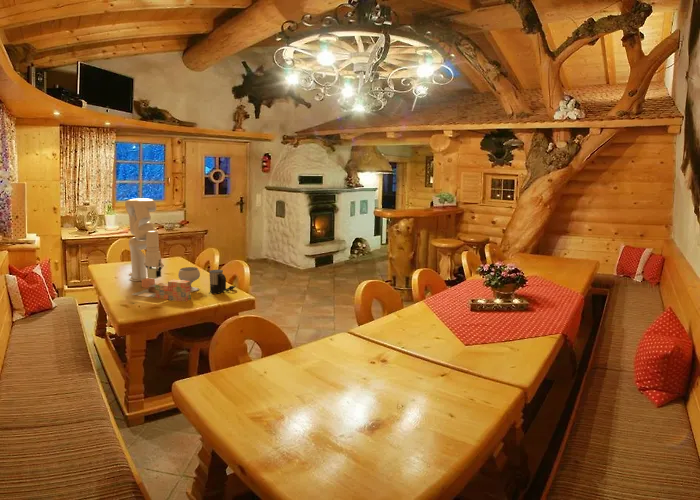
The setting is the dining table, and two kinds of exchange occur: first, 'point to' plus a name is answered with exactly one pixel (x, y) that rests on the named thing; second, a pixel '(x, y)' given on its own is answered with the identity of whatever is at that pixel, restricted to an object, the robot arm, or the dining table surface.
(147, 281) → the terracotta block
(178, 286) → the stack of blocks
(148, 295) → the board
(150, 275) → the sage block
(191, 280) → the chalice
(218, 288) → the milk frother
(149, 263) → the robot arm
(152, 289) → the walnut block
